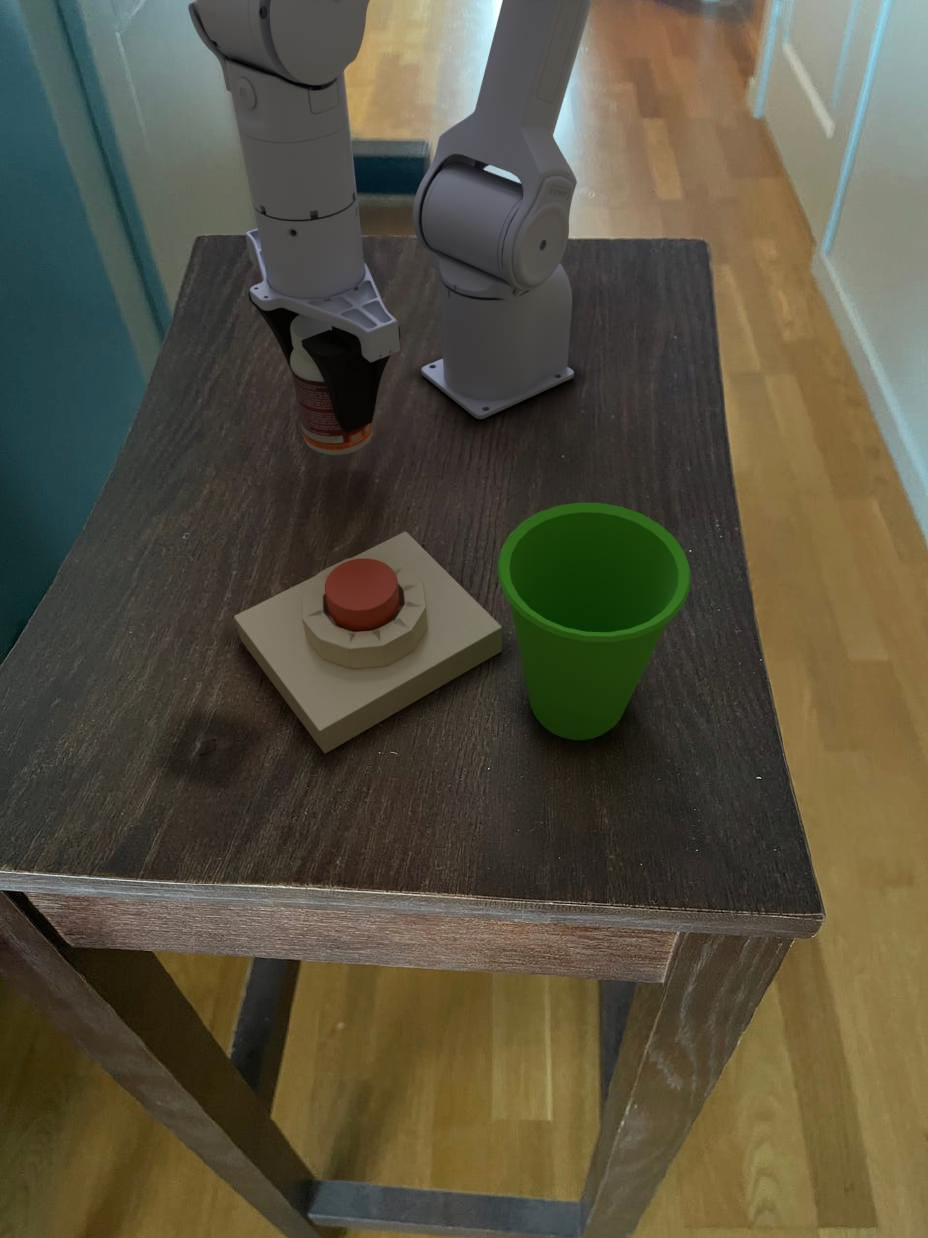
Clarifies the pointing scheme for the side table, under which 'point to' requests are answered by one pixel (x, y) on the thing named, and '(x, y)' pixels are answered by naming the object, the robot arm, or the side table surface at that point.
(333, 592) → the lid button
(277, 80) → the robot arm
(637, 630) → the cup
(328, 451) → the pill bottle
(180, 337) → the side table surface
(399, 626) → the button housing
